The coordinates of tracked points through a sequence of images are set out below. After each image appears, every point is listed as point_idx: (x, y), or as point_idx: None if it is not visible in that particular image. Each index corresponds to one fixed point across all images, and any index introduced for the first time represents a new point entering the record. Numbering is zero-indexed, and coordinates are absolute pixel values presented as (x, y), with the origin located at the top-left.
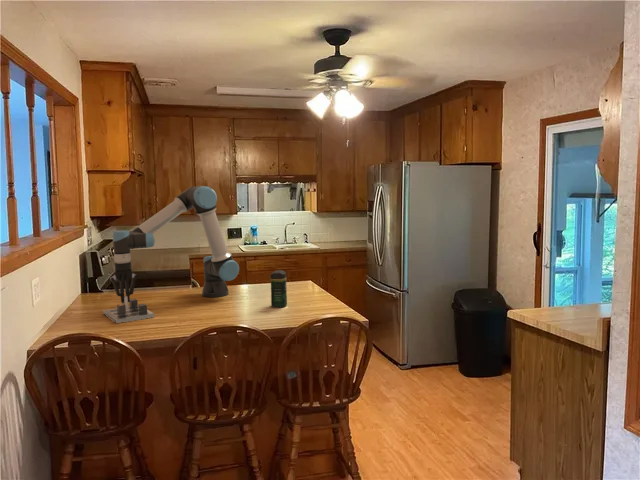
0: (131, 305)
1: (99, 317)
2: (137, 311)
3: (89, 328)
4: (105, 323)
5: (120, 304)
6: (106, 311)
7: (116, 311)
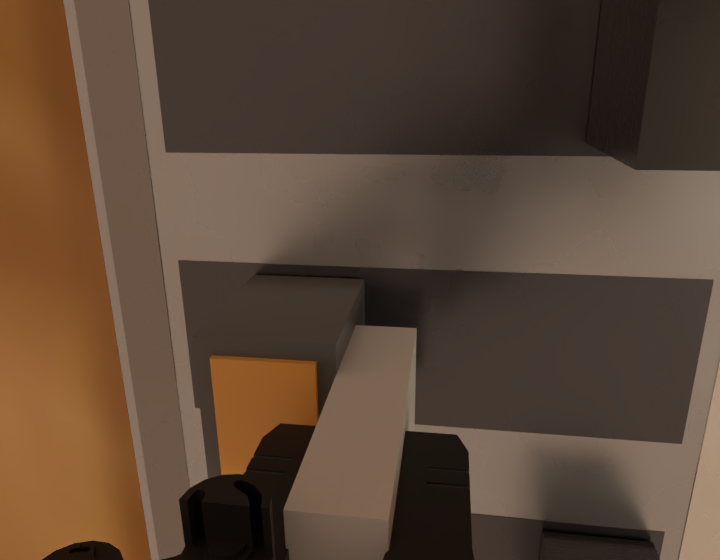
0: (603, 130)
1: (25, 86)
2: (566, 440)
3: None
4: (82, 479)
5: (259, 417)
6: (97, 22)
7: (262, 164)
